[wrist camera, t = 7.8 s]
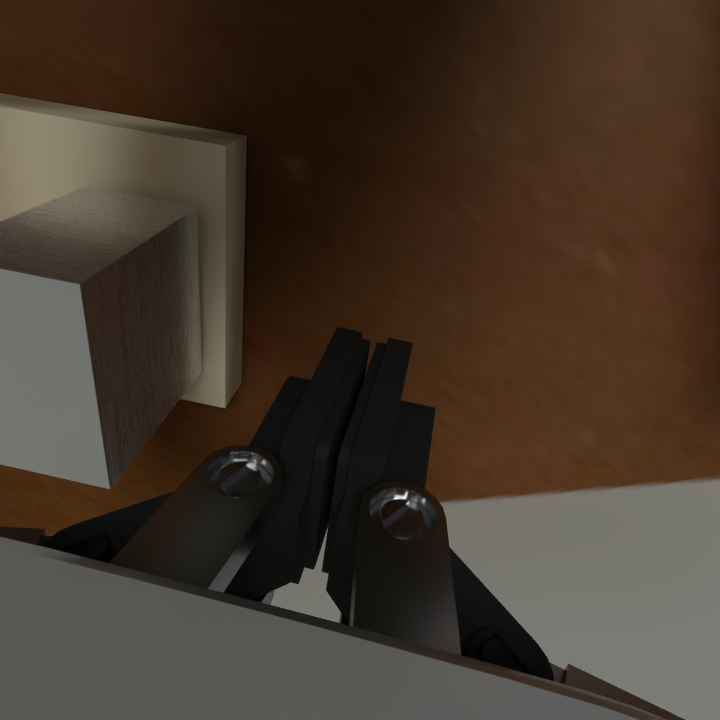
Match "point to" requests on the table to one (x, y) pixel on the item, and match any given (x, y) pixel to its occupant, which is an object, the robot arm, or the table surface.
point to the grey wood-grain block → (95, 330)
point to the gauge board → (151, 180)
